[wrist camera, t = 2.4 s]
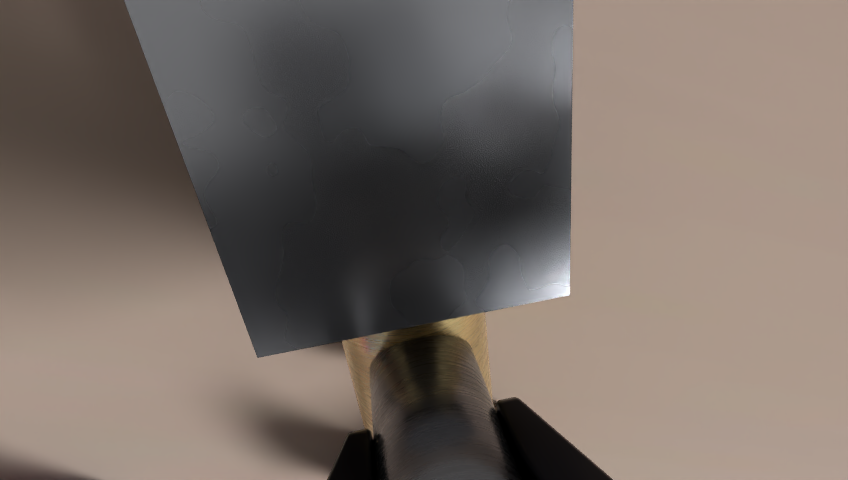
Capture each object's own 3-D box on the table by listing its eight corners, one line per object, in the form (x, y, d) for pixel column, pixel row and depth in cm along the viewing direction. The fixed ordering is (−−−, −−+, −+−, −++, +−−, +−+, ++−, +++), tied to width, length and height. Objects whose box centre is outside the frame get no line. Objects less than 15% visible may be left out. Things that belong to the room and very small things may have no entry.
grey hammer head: (220, -13, 10) (103, -55, 5) (471, -47, 10) (574, -113, 6) (291, 234, 12) (258, 357, 8) (489, 199, 13) (569, 295, 8)
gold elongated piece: (276, 32, 10) (28, 35, 2) (438, 9, 10) (709, -60, 3) (363, 380, 14) (379, 782, 7) (475, 357, 14) (614, 716, 7)
